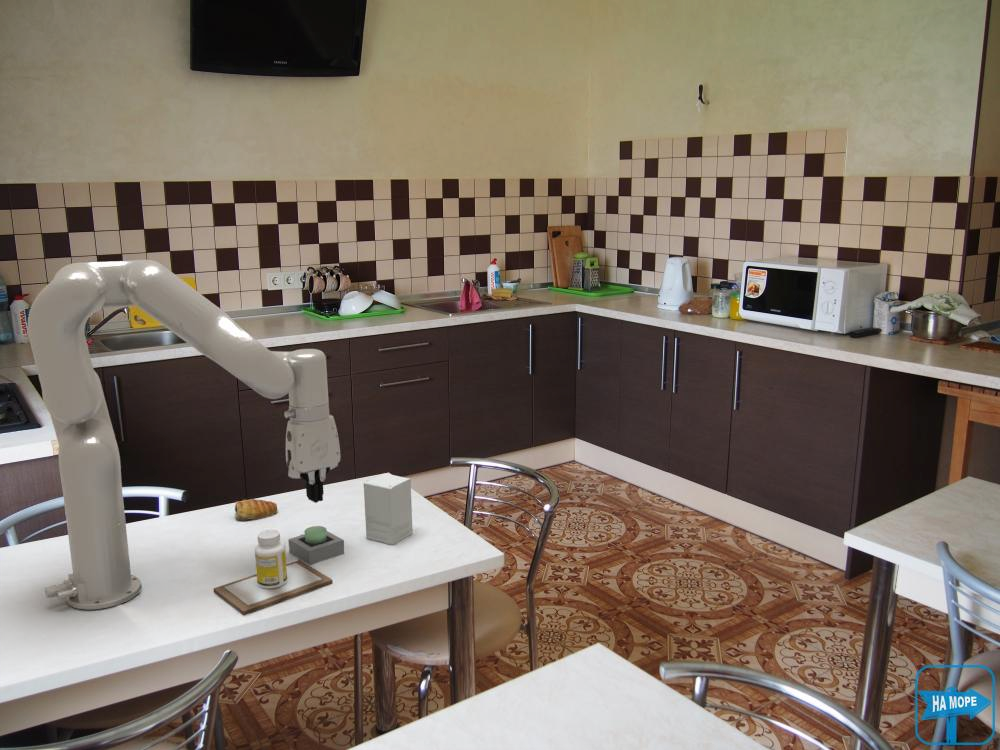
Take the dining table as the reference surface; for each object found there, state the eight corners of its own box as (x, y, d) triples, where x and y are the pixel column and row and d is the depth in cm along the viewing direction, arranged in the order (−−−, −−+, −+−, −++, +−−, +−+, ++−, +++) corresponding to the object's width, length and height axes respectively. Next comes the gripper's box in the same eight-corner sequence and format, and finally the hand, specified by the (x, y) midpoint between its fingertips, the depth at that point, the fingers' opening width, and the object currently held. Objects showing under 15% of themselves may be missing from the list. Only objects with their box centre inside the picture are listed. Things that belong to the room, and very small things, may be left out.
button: (312, 545, 172) (311, 536, 171) (300, 539, 175) (300, 530, 174) (331, 539, 175) (330, 530, 174) (319, 533, 178) (319, 524, 177)
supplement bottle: (275, 573, 164) (272, 525, 162) (293, 582, 160) (290, 532, 158) (251, 584, 160) (247, 534, 158) (269, 592, 156) (265, 542, 154)
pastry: (275, 507, 201) (274, 492, 200) (279, 517, 195) (279, 501, 194) (233, 513, 197) (232, 497, 196) (237, 524, 191) (235, 507, 190)
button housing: (309, 565, 170) (308, 551, 169) (289, 552, 176) (288, 539, 175) (344, 553, 175) (343, 539, 174) (323, 541, 181) (322, 528, 180)
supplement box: (413, 534, 185) (412, 478, 182) (391, 546, 179) (389, 488, 176) (387, 526, 189) (385, 472, 186) (364, 538, 183) (362, 482, 180)
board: (243, 615, 150) (243, 610, 150) (213, 592, 159) (213, 587, 158) (332, 583, 162) (332, 578, 162) (300, 563, 171) (299, 558, 170)
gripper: (285, 423, 161) (291, 515, 165) (352, 408, 171) (357, 495, 175) (265, 416, 167) (272, 504, 171) (332, 401, 177) (337, 486, 181)
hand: (315, 499), depth 173 cm, fingers closed
